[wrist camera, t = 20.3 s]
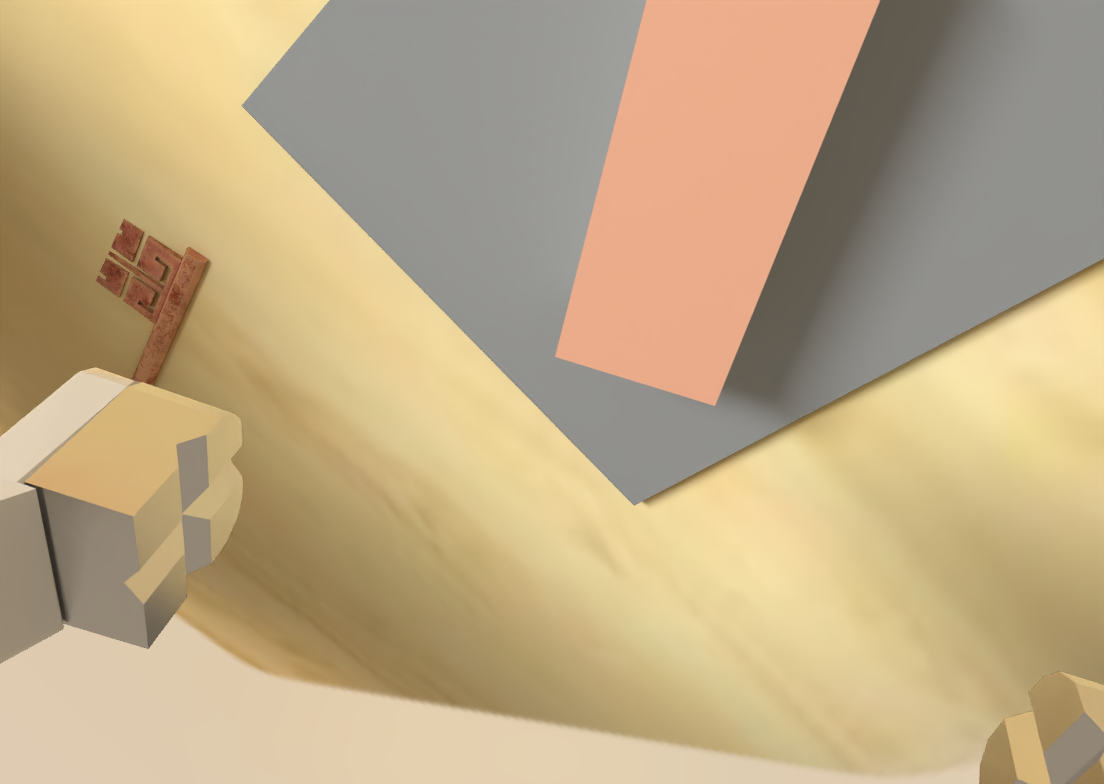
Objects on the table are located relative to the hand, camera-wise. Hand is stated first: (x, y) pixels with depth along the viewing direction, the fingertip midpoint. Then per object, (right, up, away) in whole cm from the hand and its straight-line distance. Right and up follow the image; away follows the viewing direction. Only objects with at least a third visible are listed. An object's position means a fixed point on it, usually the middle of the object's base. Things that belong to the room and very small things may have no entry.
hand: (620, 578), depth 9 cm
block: (+2, +3, +19) cm, 20 cm away
